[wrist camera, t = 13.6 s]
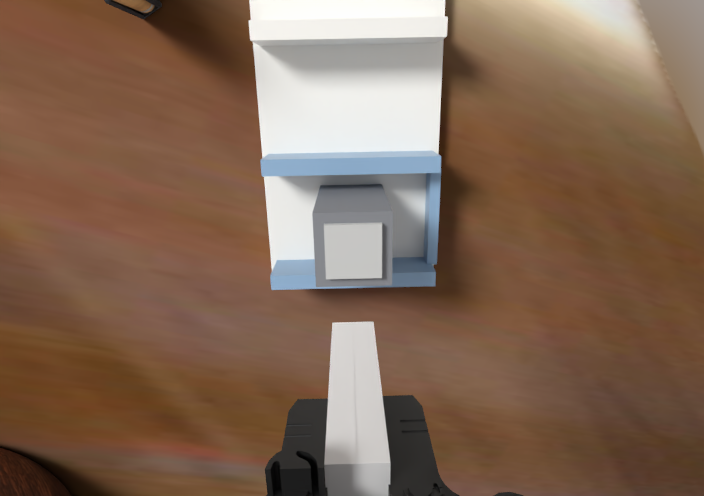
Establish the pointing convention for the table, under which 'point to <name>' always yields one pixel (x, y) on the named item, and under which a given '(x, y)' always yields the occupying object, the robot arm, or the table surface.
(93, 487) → the table surface
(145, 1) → the ammunition clip
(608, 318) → the table surface
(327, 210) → the plug
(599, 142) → the table surface
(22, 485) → the wooden bowl
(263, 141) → the slotted holder tray
